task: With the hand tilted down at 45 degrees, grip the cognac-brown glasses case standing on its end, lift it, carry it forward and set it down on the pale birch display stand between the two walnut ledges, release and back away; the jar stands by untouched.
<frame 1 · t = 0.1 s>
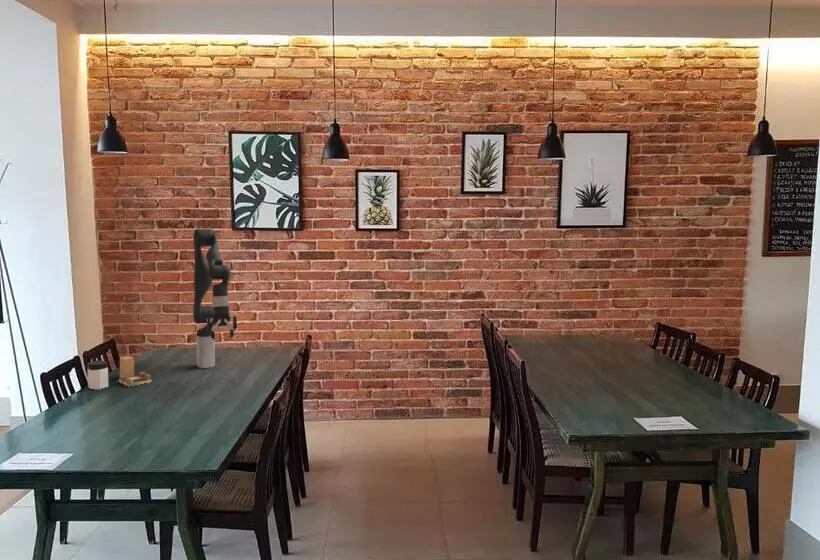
hand: (222, 338, 287), 22 cm above the table, tool pointing down, fingers open, 8 cm apart
display stand: (135, 382, 286), on the table
case: (127, 376, 296), on the table
jar: (98, 387, 278), on the table
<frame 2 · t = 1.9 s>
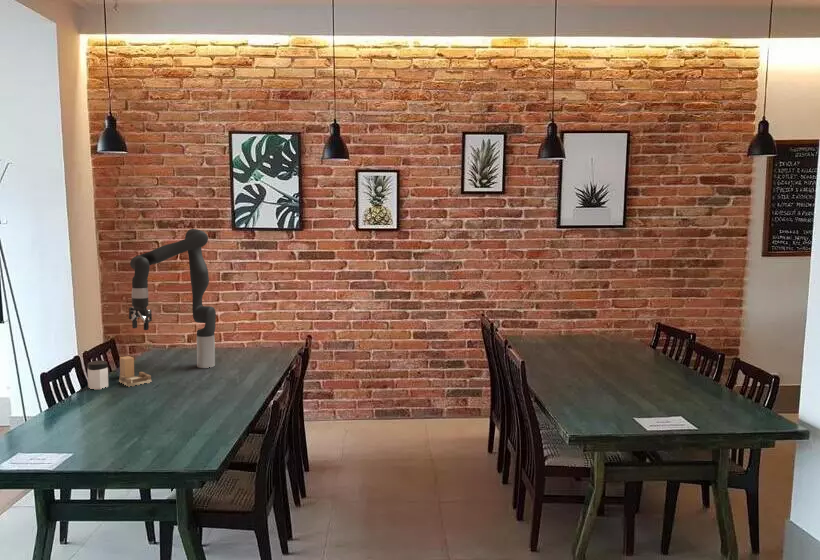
hand: (140, 329, 290), 25 cm above the table, tool pointing down, fingers open, 8 cm apart
nothing on the table moved.
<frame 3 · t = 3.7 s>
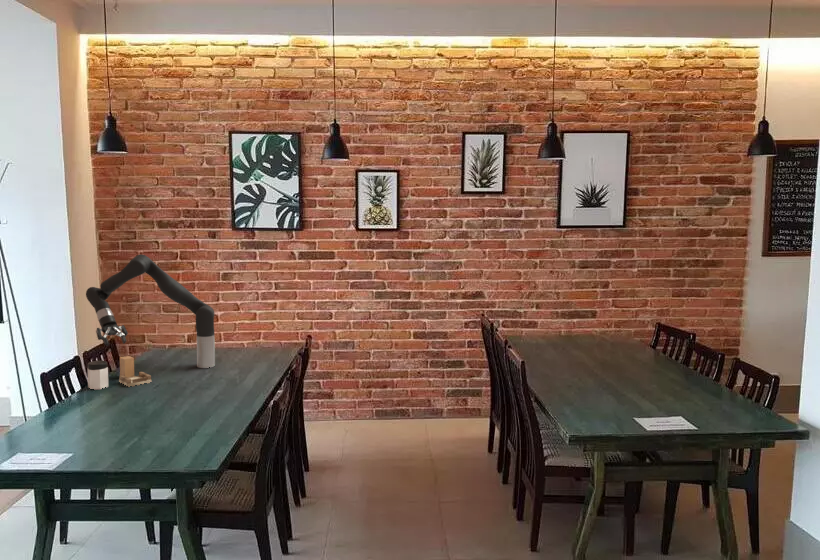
hand: (116, 343, 301), 15 cm above the table, tool tilted 45°, fingers open, 8 cm apart
nothing on the table moved.
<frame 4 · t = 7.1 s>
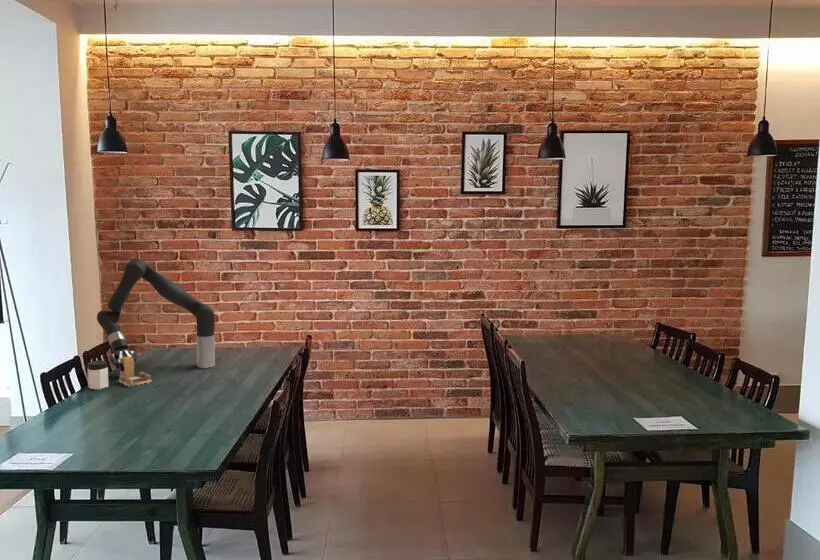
hand: (128, 369, 294), 4 cm above the table, tool tilted 45°, fingers closed on case, 4 cm apart
case: (127, 376, 296), on the table, touching gripper
everything else where it was.
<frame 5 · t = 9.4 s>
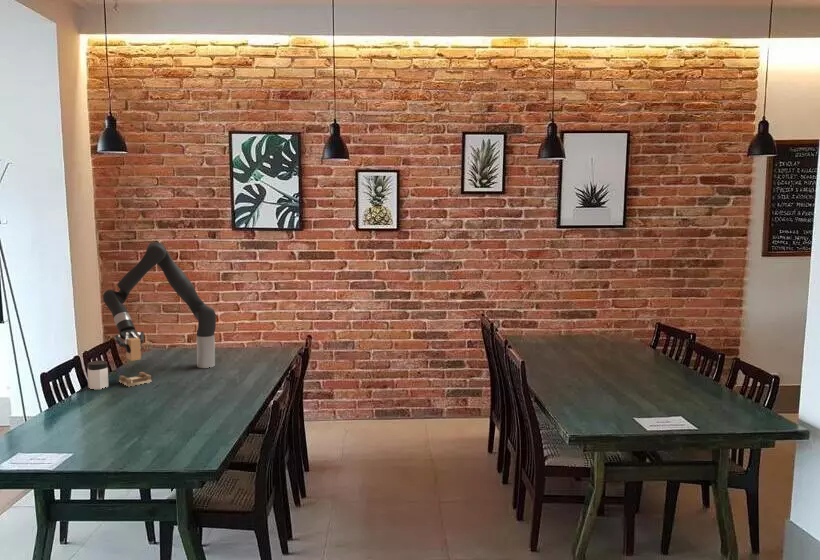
hand: (135, 351, 284), 16 cm above the table, tool tilted 45°, fingers closed on case, 4 cm apart
case: (133, 358, 286), point 12 cm above the table, touching gripper
everything else where it was.
when the fingers open (7 cm above the table, at t = 11.6 s): case drops 1 cm, resting on display stand.
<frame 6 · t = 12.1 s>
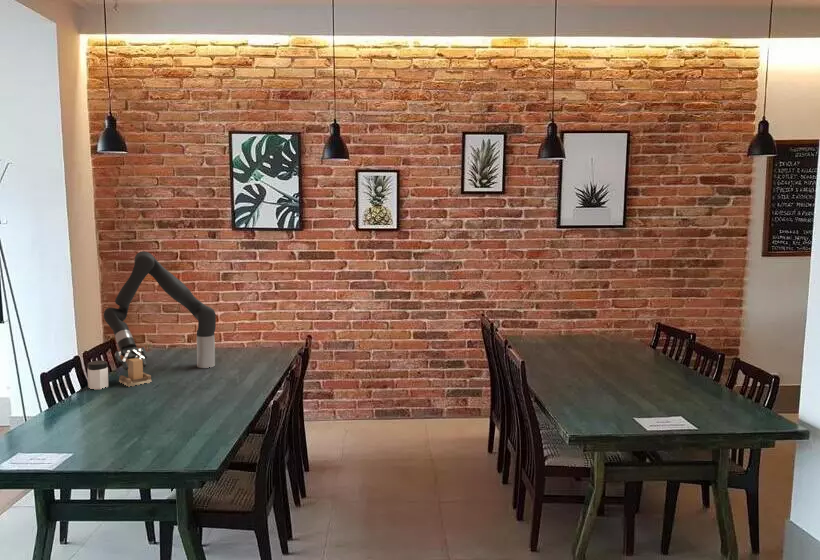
hand: (136, 367, 285), 8 cm above the table, tool tilted 45°, fingers open, 8 cm apart
case: (135, 379, 286), point 1 cm above the table, touching display stand
everything else where it was.
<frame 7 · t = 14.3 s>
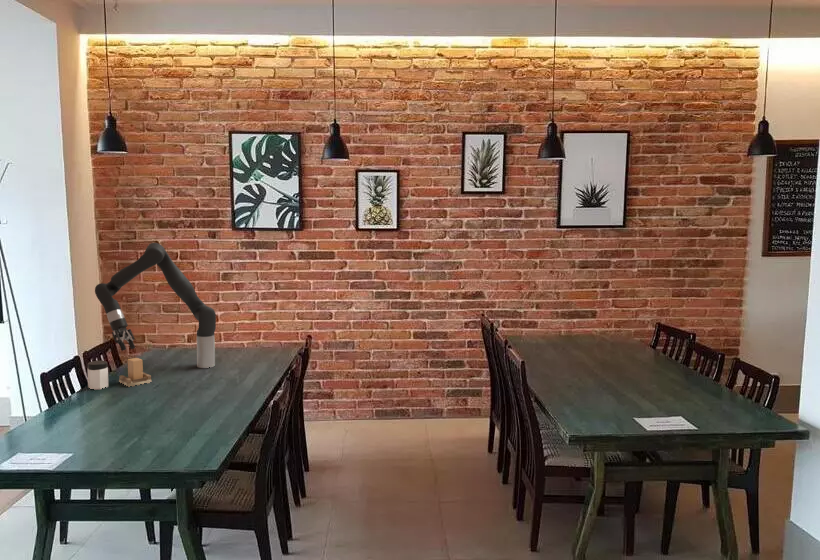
hand: (128, 349, 296), 14 cm above the table, tool tilted 25°, fingers open, 8 cm apart
nothing on the table moved.
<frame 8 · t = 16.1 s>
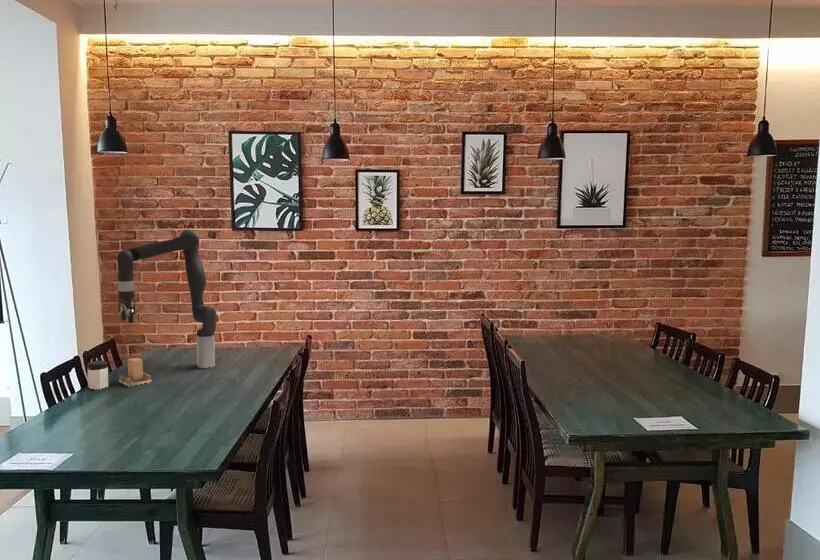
hand: (127, 321, 295), 28 cm above the table, tool pointing down, fingers open, 8 cm apart
nothing on the table moved.
at the end: case inside the target area on the display stand (0.2 cm from its centre), point 1.5 cm above the display stand's base; case tilted 0°; the gripper is holding nothing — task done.
